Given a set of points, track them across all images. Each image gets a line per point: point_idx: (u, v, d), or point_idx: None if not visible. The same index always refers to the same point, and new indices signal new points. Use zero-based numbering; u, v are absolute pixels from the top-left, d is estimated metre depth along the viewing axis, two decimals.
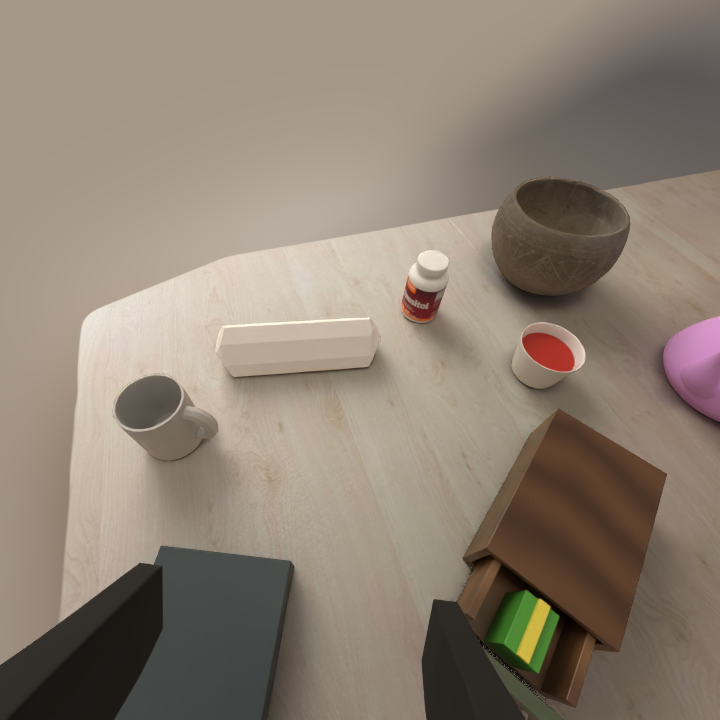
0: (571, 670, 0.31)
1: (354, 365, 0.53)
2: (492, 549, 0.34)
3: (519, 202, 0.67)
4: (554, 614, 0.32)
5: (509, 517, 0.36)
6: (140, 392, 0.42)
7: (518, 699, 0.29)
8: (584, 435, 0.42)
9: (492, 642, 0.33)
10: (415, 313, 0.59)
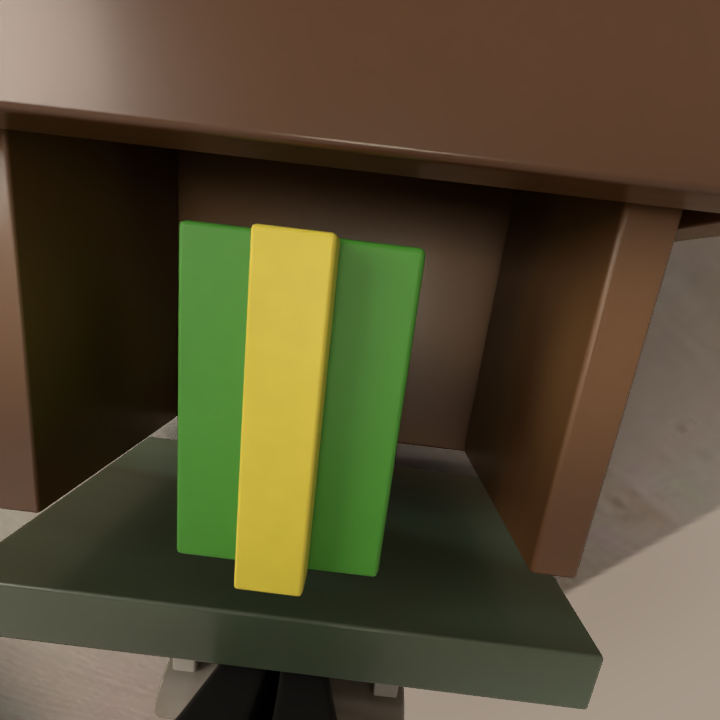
0: (543, 437, 0.06)
1: None
2: None
3: None
4: (390, 260, 0.05)
5: None
6: None
7: (327, 673, 0.07)
8: None
9: None
10: None
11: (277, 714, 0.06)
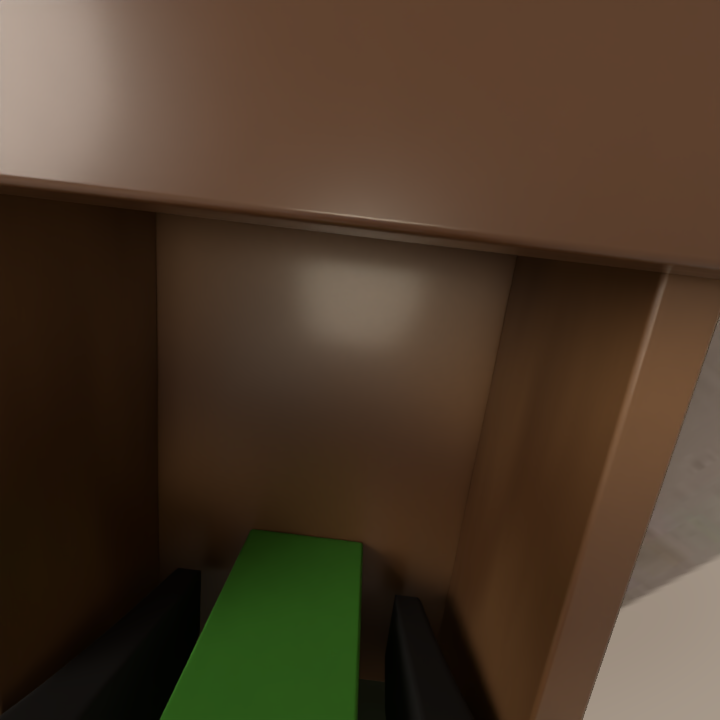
0: None
1: None
2: None
3: None
4: None
5: None
6: None
7: None
8: None
9: None
10: None
11: None
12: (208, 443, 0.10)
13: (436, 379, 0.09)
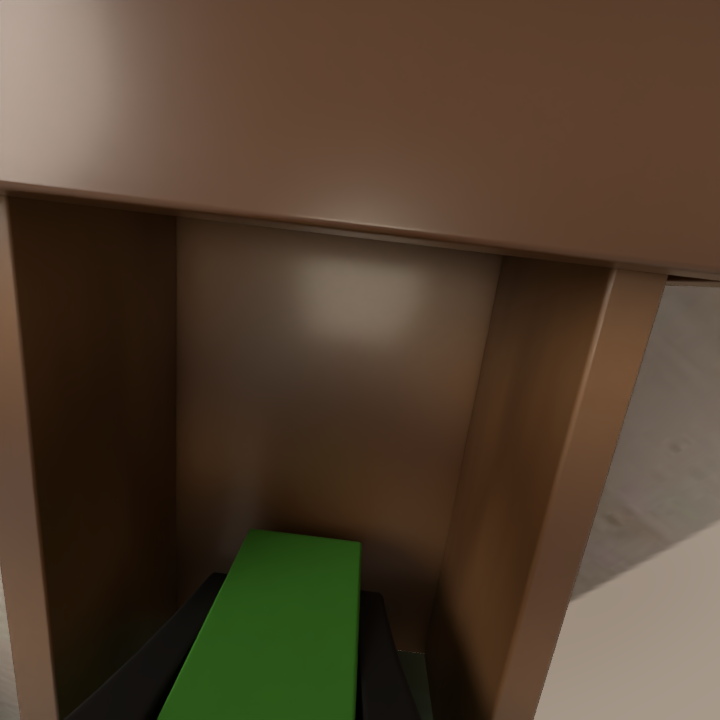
0: None
1: None
2: None
3: None
4: None
5: None
6: None
7: None
8: None
9: None
10: None
11: None
12: (222, 425, 0.11)
13: (431, 366, 0.10)
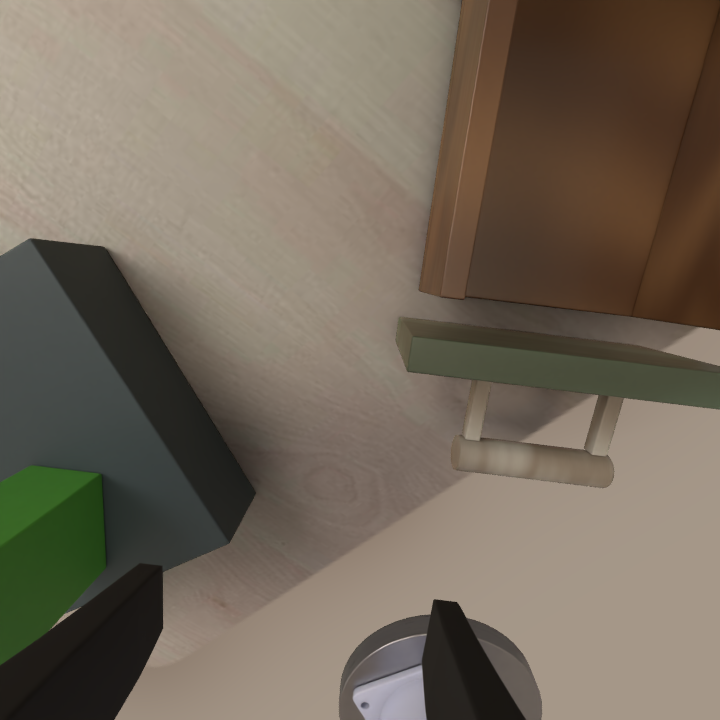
0: None
1: None
2: None
3: None
4: None
5: None
6: None
7: (611, 394, 0.12)
8: None
9: None
10: None
11: None
12: (504, 106, 0.14)
13: (670, 48, 0.14)
